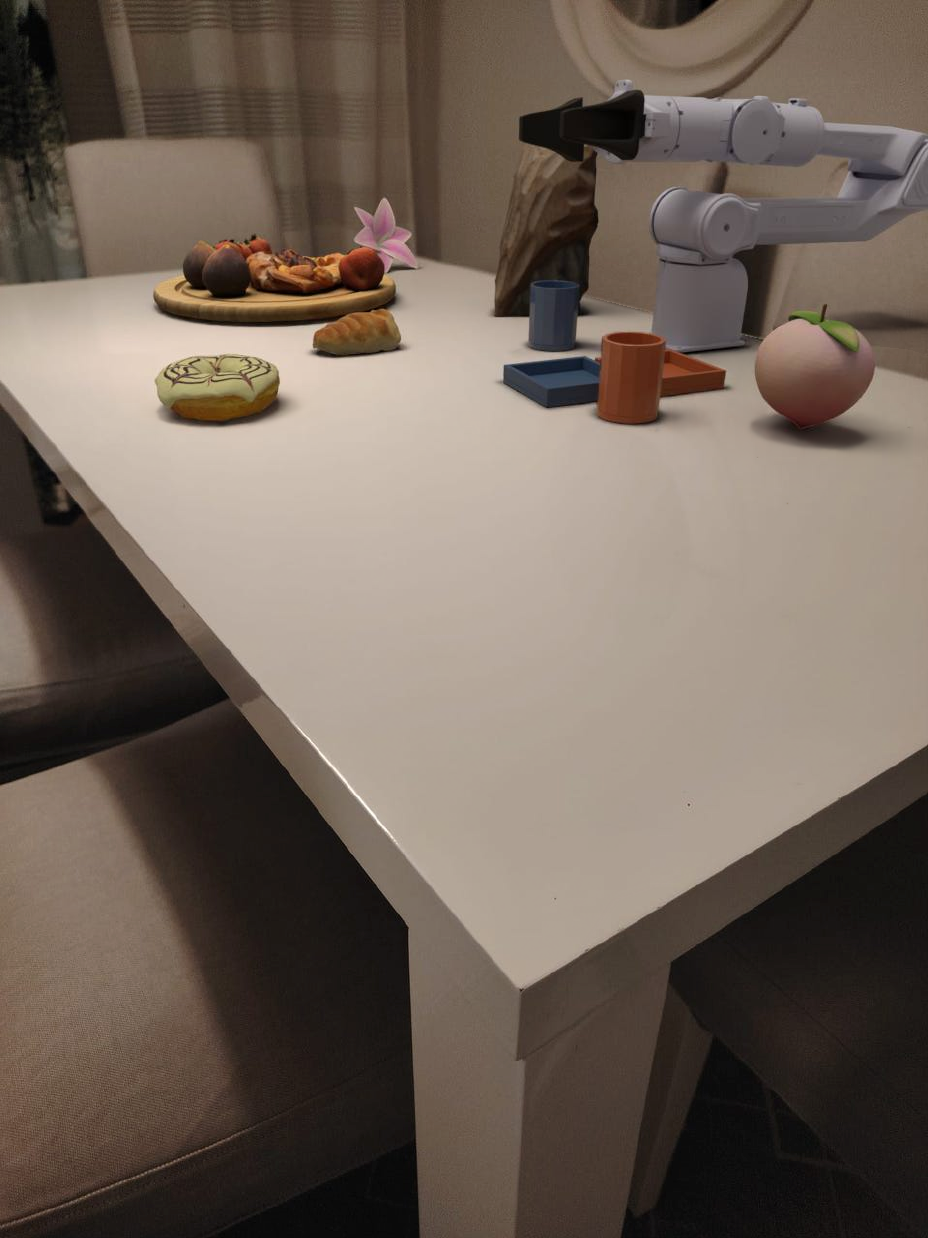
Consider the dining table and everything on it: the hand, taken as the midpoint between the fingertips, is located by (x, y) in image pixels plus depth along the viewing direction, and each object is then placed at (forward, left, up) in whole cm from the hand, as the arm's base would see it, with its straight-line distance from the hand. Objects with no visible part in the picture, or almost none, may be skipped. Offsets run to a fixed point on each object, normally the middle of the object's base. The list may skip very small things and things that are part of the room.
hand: (540, 126), depth 84 cm
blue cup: (-5, -6, -22) cm, 23 cm away
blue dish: (+2, +10, -22) cm, 24 cm away
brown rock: (-12, -25, -22) cm, 35 cm away
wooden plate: (+17, -43, -22) cm, 51 cm away
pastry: (+15, -13, -22) cm, 29 cm away
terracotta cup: (+1, +19, -22) cm, 29 cm away
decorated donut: (+33, +3, -22) cm, 39 cm away
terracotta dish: (-8, +11, -22) cm, 26 cm away
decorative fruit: (-10, +28, -22) cm, 37 cm away
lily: (-5, -63, -22) cm, 66 cm away
